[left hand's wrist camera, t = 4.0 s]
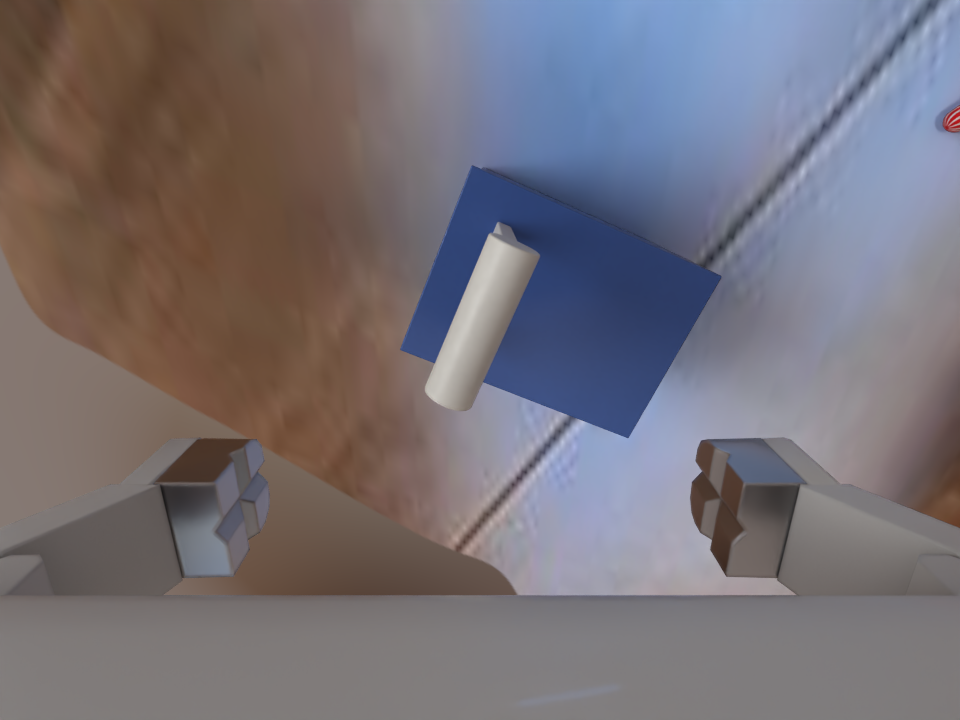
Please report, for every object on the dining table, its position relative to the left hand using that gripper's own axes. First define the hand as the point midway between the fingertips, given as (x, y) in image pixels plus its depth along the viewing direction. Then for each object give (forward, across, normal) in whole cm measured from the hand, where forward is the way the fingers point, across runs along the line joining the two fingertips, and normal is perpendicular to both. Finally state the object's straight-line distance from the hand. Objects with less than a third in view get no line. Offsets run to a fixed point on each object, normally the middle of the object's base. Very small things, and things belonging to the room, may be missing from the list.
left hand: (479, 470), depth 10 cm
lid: (+18, +4, -2) cm, 18 cm away
